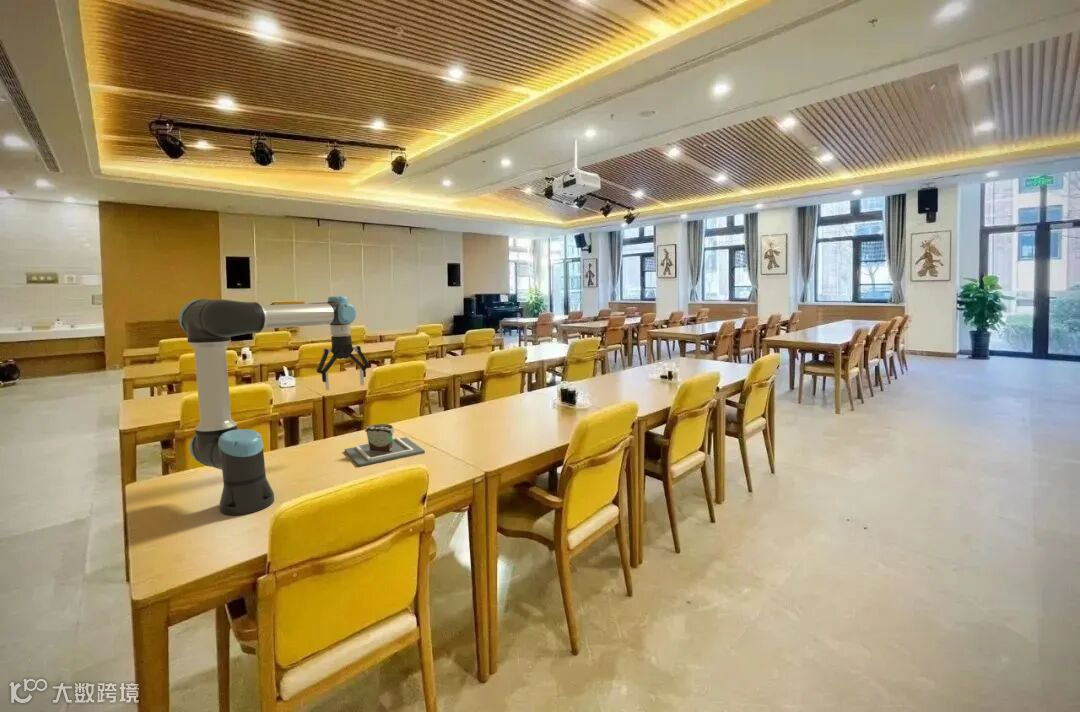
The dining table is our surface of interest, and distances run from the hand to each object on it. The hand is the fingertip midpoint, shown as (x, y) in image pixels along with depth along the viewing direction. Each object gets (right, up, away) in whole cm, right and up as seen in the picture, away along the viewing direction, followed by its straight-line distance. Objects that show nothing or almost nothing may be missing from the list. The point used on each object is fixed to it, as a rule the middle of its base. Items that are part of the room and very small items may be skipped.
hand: (345, 387), depth 212 cm
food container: (+15, -26, +2) cm, 30 cm away
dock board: (+15, -26, +2) cm, 31 cm away
